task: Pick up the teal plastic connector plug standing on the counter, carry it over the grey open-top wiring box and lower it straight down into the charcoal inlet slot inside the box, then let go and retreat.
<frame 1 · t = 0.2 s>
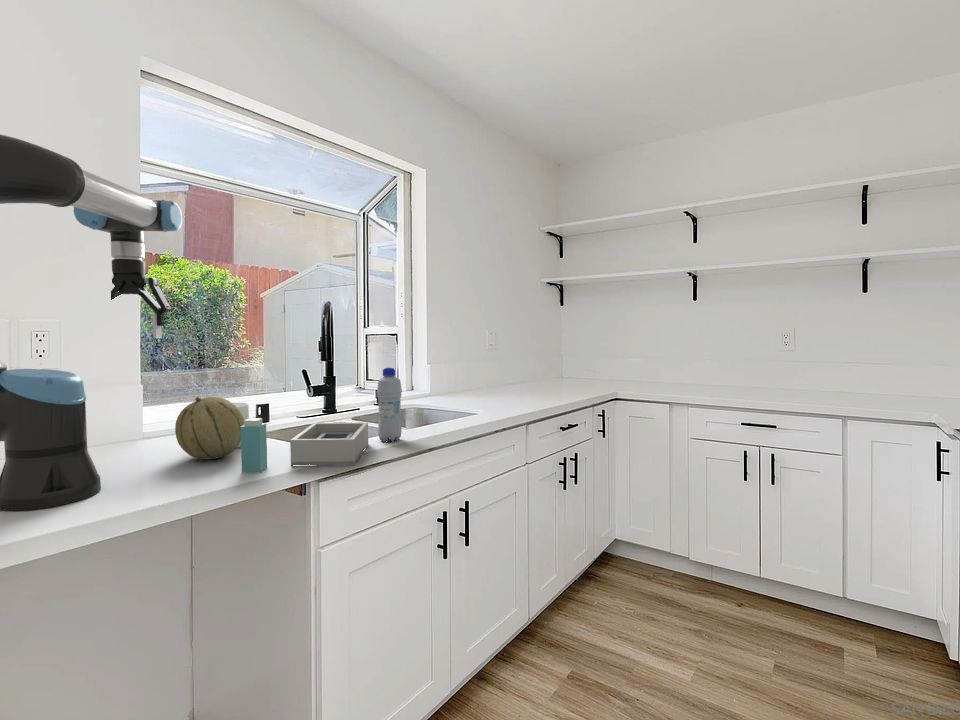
hand: (132, 338, 143), 28 cm above the worktop, fingers open, 13 cm apart
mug: (225, 447, 136), on the worktop
cantaloupe: (211, 459, 124), on the worktop
wiring box: (332, 454, 127), on the worktop
connector: (254, 470, 114), on the worktop
bottle: (390, 441, 143), on the worktop
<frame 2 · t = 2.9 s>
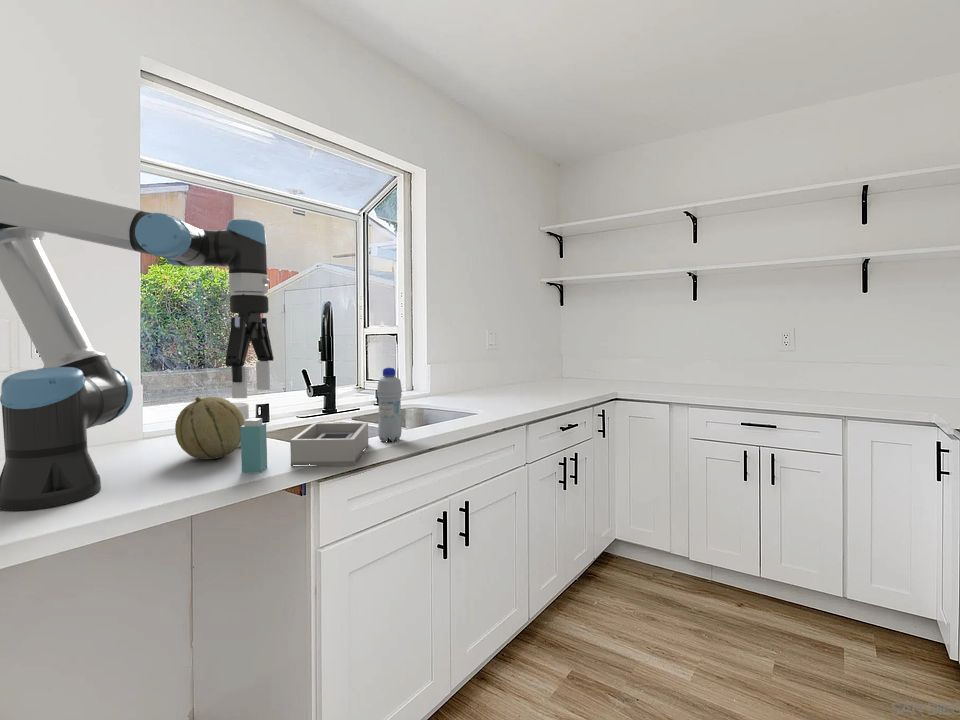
hand: (252, 393, 113), 17 cm above the worktop, fingers open, 13 cm apart
nothing on the worktop moved.
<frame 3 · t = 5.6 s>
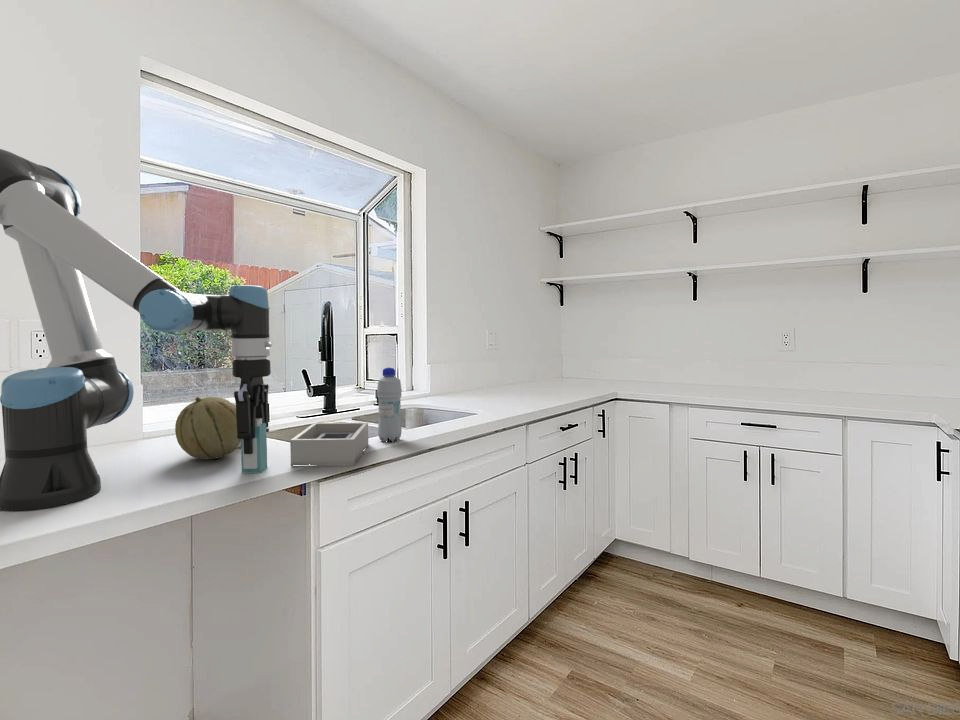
hand: (254, 465, 114), 1 cm above the worktop, fingers closed on connector, 4 cm apart
connector: (254, 470, 114), on the worktop, touching gripper
everything else where it was.
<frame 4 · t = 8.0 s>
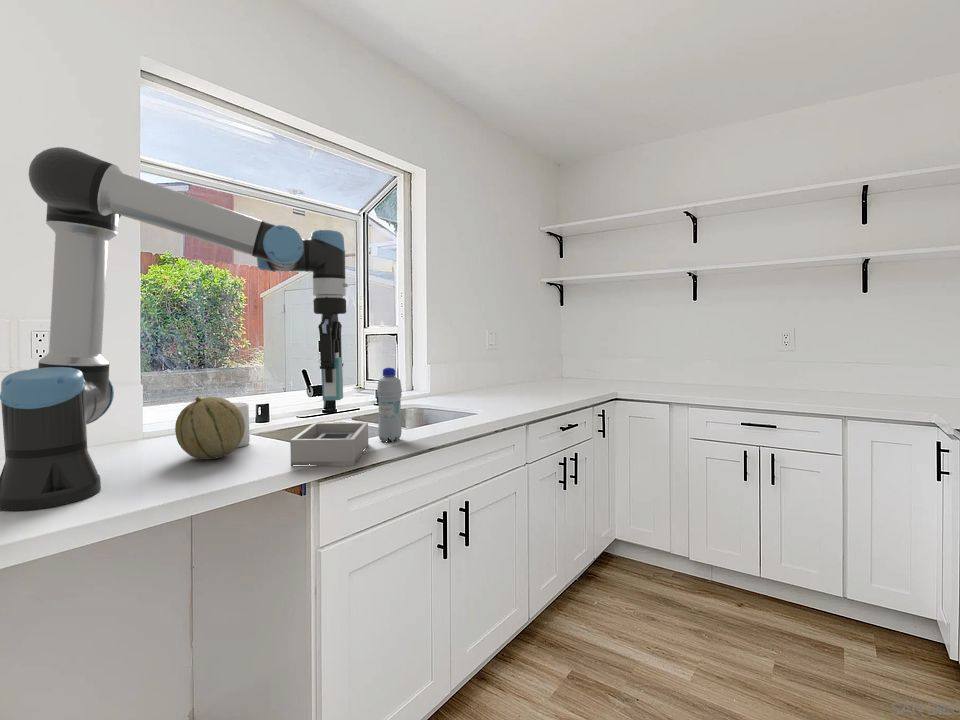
hand: (332, 394, 126), 15 cm above the worktop, fingers closed on connector, 4 cm apart
connector: (333, 399, 126), point 14 cm above the worktop, touching gripper
everything else where it was.
when the fingers open (3 cm above the worktop, at t = 10.4 s): connector stays where it is, resting on wiring box.
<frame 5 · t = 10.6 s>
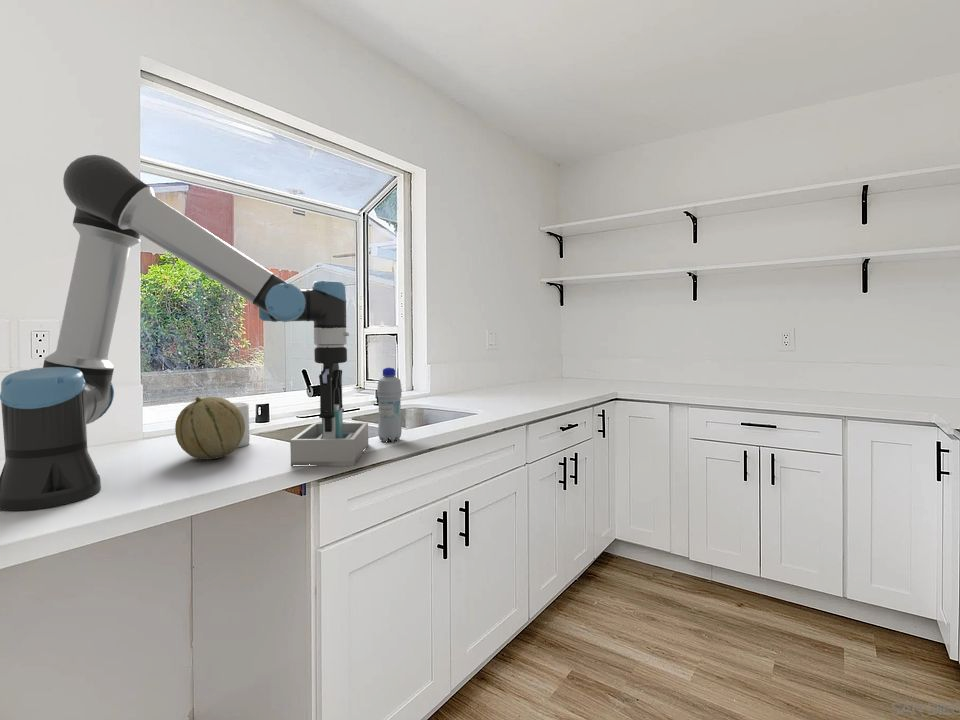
hand: (332, 441, 127), 3 cm above the worktop, fingers open, 5 cm apart
connector: (333, 450, 127), point 1 cm above the worktop, touching wiring box
everything else where it was.
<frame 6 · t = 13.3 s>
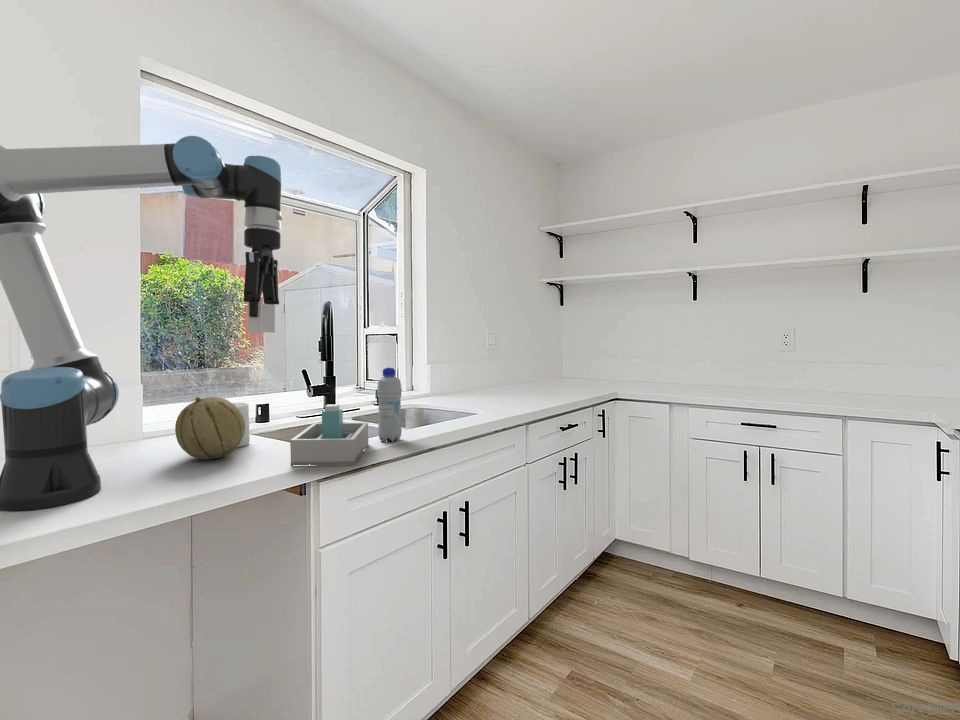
hand: (262, 332, 118), 30 cm above the worktop, fingers open, 8 cm apart
nothing on the worktop moved.
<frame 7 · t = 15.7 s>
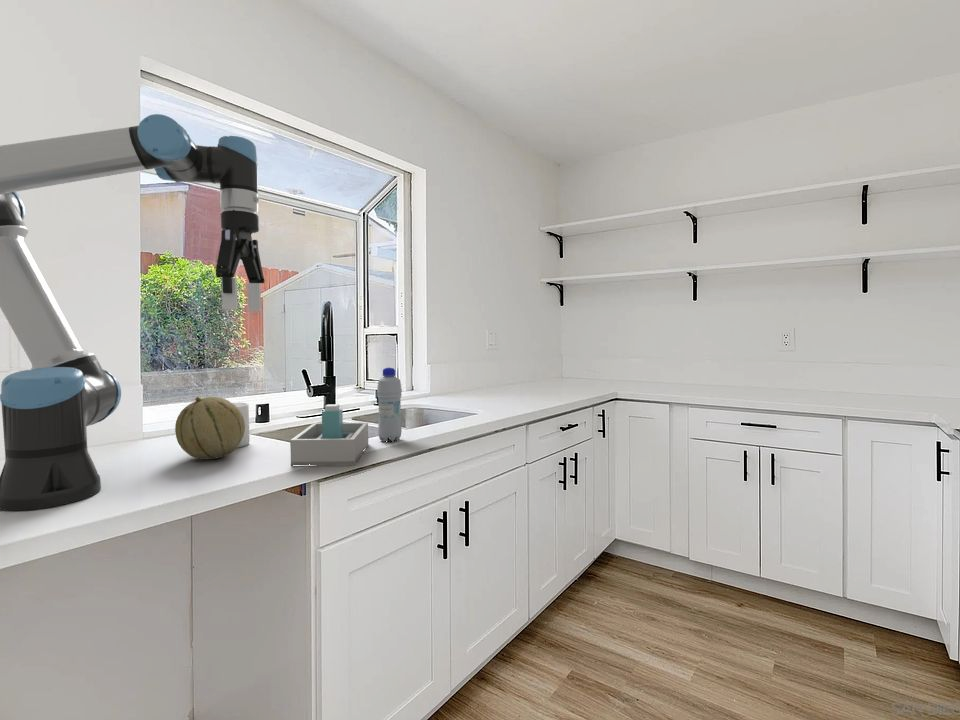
hand: (243, 310, 116), 35 cm above the worktop, fingers open, 13 cm apart
nothing on the worktop moved.
at the end: connector 0.1 cm off-centre on the wiring box, point 1.0 cm above the wiring box's base; connector tilted 0°; the gripper is holding nothing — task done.
